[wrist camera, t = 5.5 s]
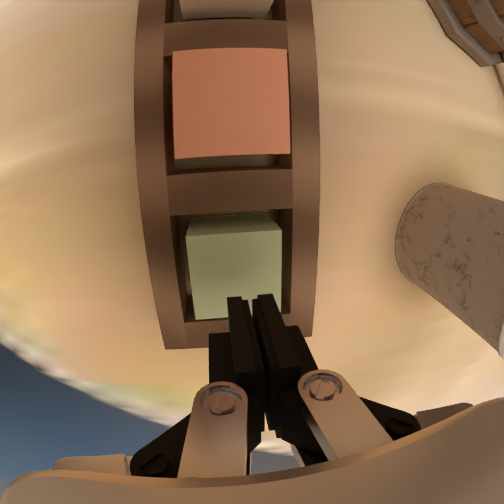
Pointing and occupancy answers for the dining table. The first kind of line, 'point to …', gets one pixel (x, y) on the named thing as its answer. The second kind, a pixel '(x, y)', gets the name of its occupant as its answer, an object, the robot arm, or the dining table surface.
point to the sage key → (233, 260)
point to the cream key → (224, 8)
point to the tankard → (474, 27)
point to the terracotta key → (230, 102)
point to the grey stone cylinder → (457, 255)
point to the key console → (226, 179)
